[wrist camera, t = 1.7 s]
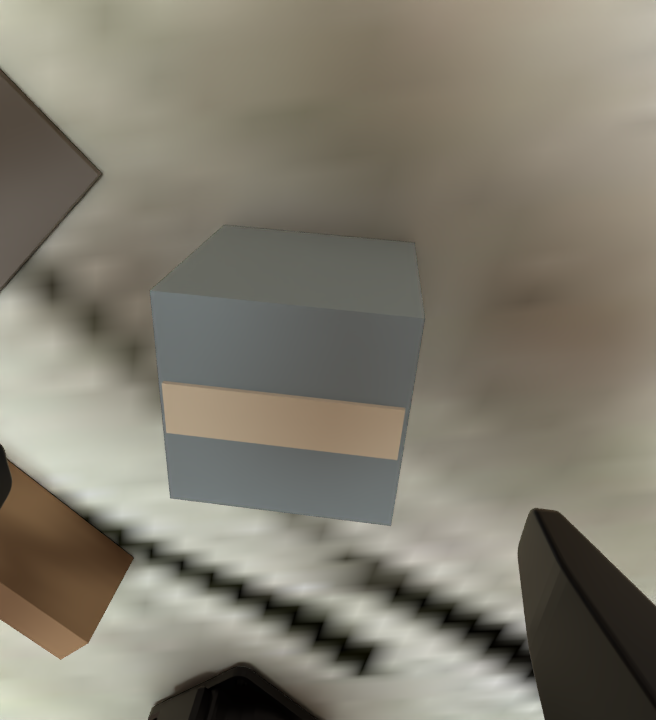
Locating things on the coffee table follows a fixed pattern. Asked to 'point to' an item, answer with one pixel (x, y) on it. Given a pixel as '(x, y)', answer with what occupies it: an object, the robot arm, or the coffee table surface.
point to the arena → (27, 498)
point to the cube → (289, 371)
